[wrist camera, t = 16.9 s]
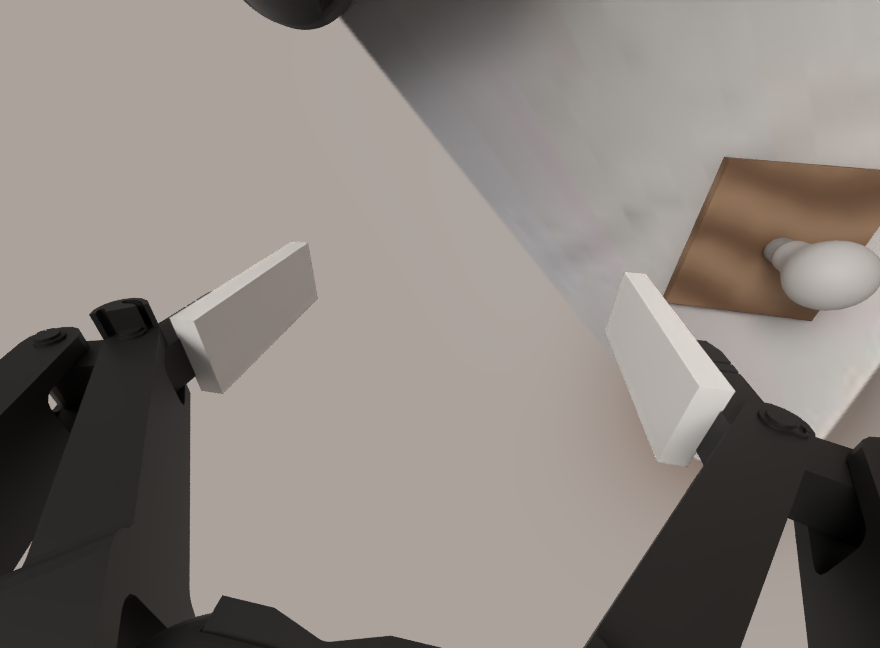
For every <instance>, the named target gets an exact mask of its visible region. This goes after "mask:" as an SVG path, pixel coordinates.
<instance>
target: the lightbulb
mask: <svg viewBox="0 0 880 648" xmlns="http://www.w3.org/2000/svg"><path fill="white" fill-rule="evenodd" d="M763 254H764V256H765V258H766V259H768V260H769V261H770V262H771V263H772V264H773V266H774V267H775V268H776V269H777V270H779V272H780V280H781V285H782V289H783V290H784V292H785V293H786V295H787V296H788V297H789V298H790V299H791V300H792V301H794V302H795V303H797V304H799V305H801V306H804V307H807V308H811V309H815V310H825V311H826V310H839V309H844V308H847V307H851V306H854V305H856V304H858V303H861V302H862V301H864V300H866V299H867V298H869V297H870V296H871V295H872V294H873V293H874V292H875V291H876V290H877V289H878V287H879V286H880V259H879V257H878V256H877V255H876V254H875V253H874V252H873V251H872V250H870V249H869V248H867V247H865V246H863V245H861V244H858V243H854V242H850V241H838V240H834V241H825V242H819V243H814V244H810V243H806V242H803V241H794V240H791V239H788V238H777V239H774V240H773V241H771V242H770V243H768V244H767V245H766V247H765V249H764V252H763Z"/></svg>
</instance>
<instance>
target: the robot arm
mask: <svg viewBox="0 0 880 648" xmlns="http://www.w3.org/2000/svg"><path fill="white" fill-rule="evenodd" d="M244 1H245V2H246V3H247V4H248V5H249V6H250V7H252V8H253V9H254V10H255V11H257V12H258V13H260V14H261V15H263V16H264V17H266V18H268V19H270V20H272V21H274V22H277V23H279V24H282V25H284V26H287V27H290V28H294V29H301V30H310V29H316V28H320V27H323V26H325V25H327V24H329V23H331V22H333V21H334V20H335V19H337V18H338V17H339V16H340V15H341V14H342V13H343V12H344V11H345V10H346V9H347V8H348V6H349V5H350V4H351V2H352V1H353V0H244ZM317 299H318V297H317V291H316V286H315V280H314V275H313V269H312V263H311V257H310V251H309V246H308V243H304V242H294V241H291V242H290V243H288V244H287V245H285V246H283V247H282V248H280V249H279V250H277V251H276V252H274V253H272V254H271V255H269V256H268V257H266V258H265V259H263V260H261V261H260V262H258V263H256V264H255V265H253V266H252V267H250V268H248V269H247V270H245V271H244V272H242V273H240V274H239V275H237V276H236V277H234V278H233V279H231V280H229V281H228V282H226V283H224V284H223V285H221V286H220V287H218V288H216V289H215V290H213V291H211V292H208V293H207V294H205V295H203V296H202V297H200V298H199V299H197V301H194V302H192V303H191V304H189V305H187V307H184V308H183V309H181V310H179V311H178V312H176V313H175V314H173V315H171V316H170V317H168V318H167V319H165V320H163V321H162V322H160V323H158V322H157V320H156V318H155V316H154V314H153V312H152V310H151V307H150V305H149V303H148V301H147V300H144V299H142V298H129V299H122V300H117V301H113V302H110V303H107V304H104V305H102V306H100V307H98V308H96V309H95V310H93V311H92V312H91V313H90V314H89V315H90V317H91V319H92V320H93V322H94V324H95V325H96V327H97V329H98V331H99V332H100V334H101V336H102V337H103V339H104V340H98V341H86V340H85V338H84V337H83V335H82V333H81V332H80V330H79V329H78V328H74V327H61V328H52V329H47V330H46V331H45V330H44V331H40V332H38V333H37V334H35V335H33V336H31V337H29V338H27V339H25V340H24V341H22V342H21V343H19V344H18V345H17V346H16V347H15V348H13V349H12V350H11V351H10V352H9V353H7V354H6V355H5V356H4V357H3V358H2V359H0V648H440V647H436V646H432V645H427V644H423V643H419V642H415V641H411V640H407V639H402V638H398V637H394V636H384V637H374V638H364V639H354V640H345V641H335V642H325V641H322V640H320V639H318V638H317V637H316V636H314V635H313V634H311V633H309V632H308V631H307V630H305V629H304V628H303V627H301V626H300V625H298V624H297V623H296V622H294V621H293V620H291V619H290V618H288V617H287V616H286V615H284V614H283V613H281V612H280V611H278V610H277V609H275V608H273V607H268V606H264V605H260V604H256V603H252V602H248V601H244V600H239V599H235V598H231V597H227V596H223V595H222V597H221V599H220V600H219V602H218V604H217V605H216V607H215V609H214V611H213V612H212V613H211V614H206V615H202V616H197V617H195V614H194V611H193V608H192V604H191V600H190V591H189V562H190V559H189V558H190V555H189V554H190V553H189V552H190V548H189V547H190V546H189V545H190V542H189V541H190V391H189V389H188V387H187V385H186V384H187V383H188V382H189V381H190V380H191V379H193V378H194V377H196V379H197V382H198V384H199V386H200V388H201V390H202V391H208V392H214V393H221V394H223V393H224V392H225V391H226V390H227V389H228V388H229V387H230V386H231V385H232V384H233V383H234V382H235V381H236V380H237V379H238V378H239V377H240V376H241V375H242V374H243V373H244V372H245V371H246V370H247V369H248V368H249V367H250V366H251V365H252V364H253V363H254V362H255V361H256V360H257V359H258V358H259V357H260V356H261V355H262V354H263V353H264V352H265V351H266V350H267V349H268V348H269V347H270V346H271V345H272V344H273V343H274V342H275V341H276V340H277V339H278V338H279V337H280V336H281V335H282V334H283V333H284V332H285V331H286V330H287V329H288V328H289V327H290V326H291V325H292V324H293V323H294V322H295V321H296V320H297V319H298V318H299V317H300V316H301V315H302V314H303V313H304V312H305V311H306V310H307V309H308V308H309V307H310V306H311V305H312V304H313V303H314V302H315V301H316V300H317ZM605 333H606V335H607V338H608V340H609V343H610V345H611V348H612V350H613V353H614V355H615V358H616V360H617V363H618V366H619V368H620V371H621V373H622V376H623V378H624V381H625V383H626V386H627V388H628V390H629V393H630V395H631V398H632V401H633V403H634V406H635V408H636V411H637V413H638V416H639V418H640V421H641V423H642V426H643V428H644V431H645V433H646V436H647V438H648V441H649V443H650V446H651V448H652V451H653V453H654V456H655V458H656V461H657V462H659V463H665V464H672V465H678V466H685V467H687V466H688V465H689V463H690V462H691V460H692V459H693V457H694V455H695V454H696V452H697V453H698V455H699V457H700V459H701V461H702V463H703V465H704V466H703V467H702V469H701V470H700V472H699V473H698V475H697V476H696V478H695V479H694V481H693V482H692V484H691V485H690V487H689V488H688V490H687V491H686V493H685V494H684V496H683V497H682V499H681V500H680V502H679V503H678V505H677V506H676V508H675V510H674V511H673V513H672V514H671V516H670V517H669V519H668V520H667V522H666V523H665V525H664V526H663V528H662V529H661V531H660V532H659V534H658V535H657V537H656V539H655V540H654V541H653V543H652V544H651V546H650V547H649V549H648V551H647V552H646V553H645V555H644V557H643V558H642V560H641V561H640V563H639V564H638V566H637V567H636V569H635V570H634V572H633V573H632V575H631V576H630V578H629V579H628V581H627V582H626V584H625V586H624V587H623V589H622V590H621V591H620V593H619V594H618V596H617V597H616V599H615V600H614V602H613V604H612V605H611V607H610V608H609V610H608V611H607V613H606V614H605V616H604V617H603V619H602V620H601V622H600V623H599V625H598V626H597V628H596V629H595V631H594V632H593V634H592V635H591V637H590V638H589V640H588V641H587V643H586V645H585V646H584V647H583V648H740V647H741V645H742V642H743V639H744V637H745V634H746V631H747V628H748V626H749V623H750V620H751V617H752V615H753V612H754V609H755V606H756V604H757V601H758V598H759V595H760V592H761V590H762V587H763V584H764V582H765V579H766V576H767V573H768V571H769V568H770V565H771V562H772V560H773V557H774V554H775V551H776V548H777V546H778V543H779V540H780V538H781V535H782V532H783V529H784V527H785V524H786V521H787V518H789V519H791V520H794V527H795V536H796V544H797V552H798V562H799V570H800V578H801V588H802V596H803V605H804V614H805V622H806V631H807V640H808V648H880V437H868V438H866V439H863V440H862V441H861V442H860V443H859V444H858V445H857V446H856V447H855V448H854V449H851V448H848V447H845V446H841V445H838V444H835V443H832V442H829V441H826V440H823V439H820V438H817V437H815V432H814V431H813V430H812V429H811V427H810V426H809V425H808V424H807V423H806V422H805V421H803V420H802V419H801V418H799V417H798V416H797V415H795V414H793V413H791V412H789V411H787V410H786V409H783V408H781V407H778V406H775V405H773V404H769V403H764V402H763V401H762V400H761V398H760V397H759V396H758V395H757V394H756V392H755V391H754V390H753V389H752V388H751V386H750V385H749V384H748V383H747V382H746V380H745V379H744V378H743V377H742V376H741V374H738V371H737V370H736V368H735V367H734V366H733V365H731V362H730V361H729V360H728V359H727V358H726V356H725V355H724V354H723V353H722V352H721V351H720V350H719V349H717V348H716V347H714V346H713V345H711V344H710V343H708V342H707V341H701V340H696V339H695V338H694V337H693V335H692V334H691V333H690V331H689V330H688V329H687V327H686V326H685V325H684V324H683V322H682V321H681V320H680V318H679V317H678V316H677V314H676V313H675V312H674V311H673V309H672V308H671V307H670V305H669V304H668V303H667V301H666V300H665V299H664V297H663V296H662V295H661V294H660V292H659V291H658V290H657V288H656V287H655V286H654V284H653V283H652V282H651V281H650V279H649V278H648V277H647V275H646V274H640V273H629V272H624V275H623V278H622V281H621V284H620V287H619V290H618V293H617V296H616V299H615V302H614V305H613V308H612V311H611V314H610V317H609V320H608V323H607V326H606V329H605ZM49 394H50V395H51V396H52V398H53V399H54V400H55V401H56V403H57V406H56V407H55V408H54V409H53V410H51V408H50V406H49V403H48V395H49ZM32 540H33V541H32ZM31 542H32V543H31ZM30 543H31V547H30V549H29V552H28V555H27V558H26V560H25V562H24V564H23V566H22V568H20V569H17V570H15V571H13V570H14V569H15V567H16V566H17V564H18V562H19V561H20V559H21V558H22V556H23V554H24V553H25V551H26V550H27V548H28V547H29V545H30Z"/></svg>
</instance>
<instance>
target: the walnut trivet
mask: <svg viewBox="0 0 880 648" xmlns="http://www.w3.org/2000/svg"><path fill="white" fill-rule="evenodd" d="M879 226H880V170H877V169H865V168H852V167H840V166H828V165H815V164H803V163H791V162H779V161H766V160H754V159H742V158H729V157H724V159H723V161H722V163H721V166H720V168H719V170H718V173H717V175H716V177H715V179H714V182H713V184H712V186H711V188H710V191H709V193H708V195H707V198H706V200H705V202H704V204H703V207H702V209H701V211H700V214H699V216H698V218H697V220H696V223H695V225H694V227H693V230H692V232H691V234H690V236H689V239H688V241H687V243H686V245H685V248H684V250H683V252H682V255H681V257H680V259H679V261H678V264H677V266H676V268H675V271H674V273H673V275H672V277H671V280H670V282H669V284H668V287H667V289H666V291H665V293H664V296H663V297H664V299H665V300H666V301H667V302H668V303H675V304H683V305H691V306H699V307H706V308H714V309H722V310H730V311H737V312H745V313H753V314H761V315H768V316H776V317H784V318H792V319H799V320H807V321H812V320H813V319H814V317H815V316H816V314H817V313H818V312H819V310H815V309H811V308H807V307H804V306H801V305H799V304H797V303H795V302H794V301H792V300H791V299H790V298H789V297H788V296H787V295H786V293H785V292H784V290H783V289H782V285H781V280H780V272H779V270H777V269H776V268H775V267H774V266H773V264H772V263H771V262H770V261H769V260H768V259H766V258H765V256H764V254H763V252H764V249H765V247H766V245H767V244H768V243H770V242H771V241H773V240H774V239H777V238H788V239H791V240H794V241H803V242H806V243H810V244H814V243H819V242H825V241H834V240H838V241H850V242H854V243H858V244H861V245H863V246H866V244H867V243H868V242H869V240H870V239H871V237H872V236H873V235H874V233H875V232H876V230H877V229H878V228H879Z"/></svg>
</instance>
